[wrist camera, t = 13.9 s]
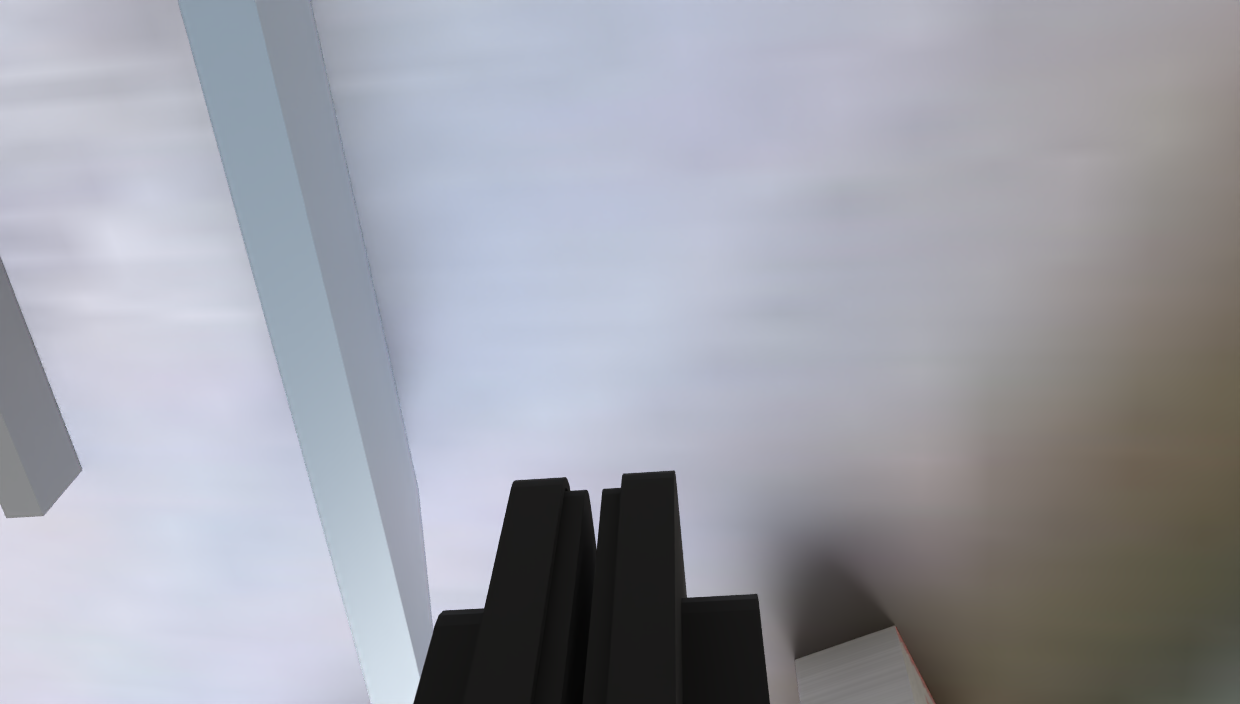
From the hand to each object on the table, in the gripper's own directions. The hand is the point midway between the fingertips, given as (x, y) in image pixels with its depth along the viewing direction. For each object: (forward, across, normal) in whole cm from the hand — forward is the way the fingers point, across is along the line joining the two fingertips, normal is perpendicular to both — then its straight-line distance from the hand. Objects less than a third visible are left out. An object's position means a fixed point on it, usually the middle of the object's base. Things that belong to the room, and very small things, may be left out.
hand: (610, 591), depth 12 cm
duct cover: (+12, +7, 0) cm, 14 cm away
